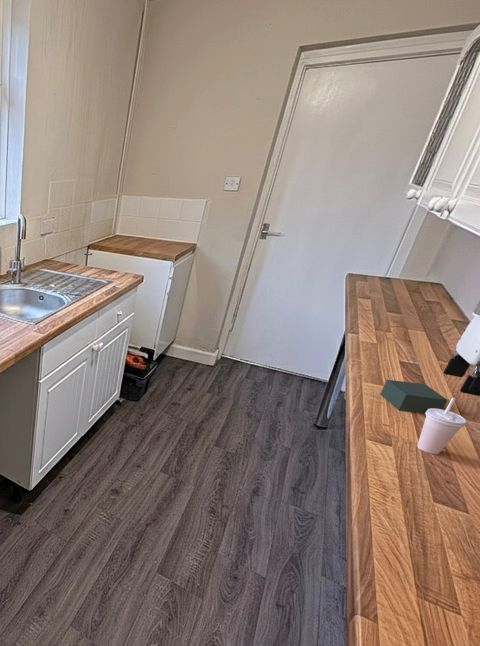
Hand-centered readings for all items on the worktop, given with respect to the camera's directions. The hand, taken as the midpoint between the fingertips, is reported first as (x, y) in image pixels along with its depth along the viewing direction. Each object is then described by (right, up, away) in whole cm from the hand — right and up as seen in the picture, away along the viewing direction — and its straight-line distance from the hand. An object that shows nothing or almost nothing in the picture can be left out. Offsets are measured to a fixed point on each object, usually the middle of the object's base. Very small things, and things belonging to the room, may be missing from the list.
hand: (460, 384), depth 92 cm
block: (+15, -8, +25) cm, 31 cm away
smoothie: (0, -17, +7) cm, 18 cm away
